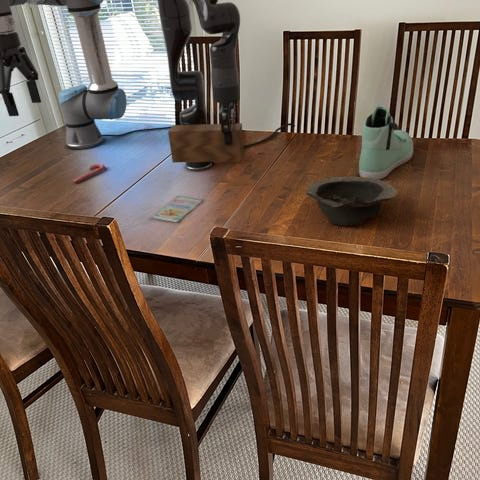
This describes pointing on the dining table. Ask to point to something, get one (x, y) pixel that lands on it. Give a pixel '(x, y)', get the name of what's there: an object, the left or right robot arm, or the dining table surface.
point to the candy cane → (100, 168)
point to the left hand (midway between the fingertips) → (25, 109)
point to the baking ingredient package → (176, 209)
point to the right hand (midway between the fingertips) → (230, 141)
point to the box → (205, 143)
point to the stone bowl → (350, 198)
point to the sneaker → (383, 145)
